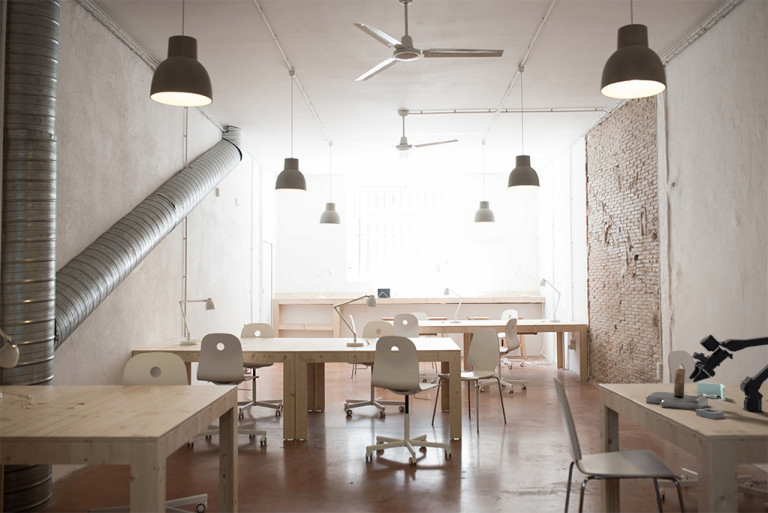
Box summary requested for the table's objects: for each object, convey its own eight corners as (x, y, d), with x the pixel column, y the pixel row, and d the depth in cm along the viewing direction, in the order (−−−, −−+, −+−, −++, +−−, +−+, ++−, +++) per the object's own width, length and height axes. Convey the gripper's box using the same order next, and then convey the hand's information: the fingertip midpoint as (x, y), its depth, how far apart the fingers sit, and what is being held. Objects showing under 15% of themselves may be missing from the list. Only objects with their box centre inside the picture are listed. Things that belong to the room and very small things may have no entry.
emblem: (679, 388, 311) (722, 399, 284) (679, 399, 311) (722, 410, 284) (634, 390, 304) (673, 400, 277) (634, 400, 304) (673, 412, 277)
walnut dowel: (685, 395, 292) (686, 369, 293) (681, 396, 290) (682, 369, 290) (676, 393, 296) (677, 367, 296) (672, 394, 293) (673, 368, 293)
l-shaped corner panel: (696, 395, 322) (696, 382, 322) (721, 398, 317) (721, 384, 317) (699, 399, 311) (699, 385, 311) (725, 402, 306) (725, 387, 306)
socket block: (707, 413, 273) (707, 408, 273) (724, 417, 266) (724, 411, 266) (696, 415, 270) (696, 409, 270) (712, 418, 262) (712, 413, 263)
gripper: (698, 344, 299) (675, 365, 302) (707, 348, 281) (682, 370, 284) (716, 361, 297) (692, 381, 299) (726, 365, 279) (700, 387, 281)
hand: (691, 380), depth 291 cm, fingers open, 9 cm apart
